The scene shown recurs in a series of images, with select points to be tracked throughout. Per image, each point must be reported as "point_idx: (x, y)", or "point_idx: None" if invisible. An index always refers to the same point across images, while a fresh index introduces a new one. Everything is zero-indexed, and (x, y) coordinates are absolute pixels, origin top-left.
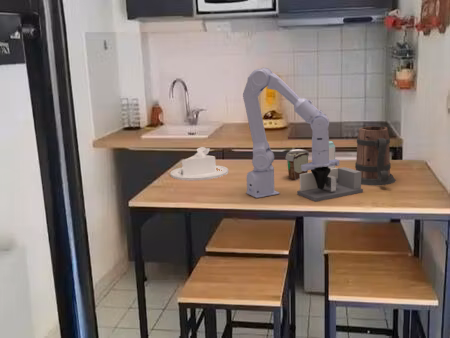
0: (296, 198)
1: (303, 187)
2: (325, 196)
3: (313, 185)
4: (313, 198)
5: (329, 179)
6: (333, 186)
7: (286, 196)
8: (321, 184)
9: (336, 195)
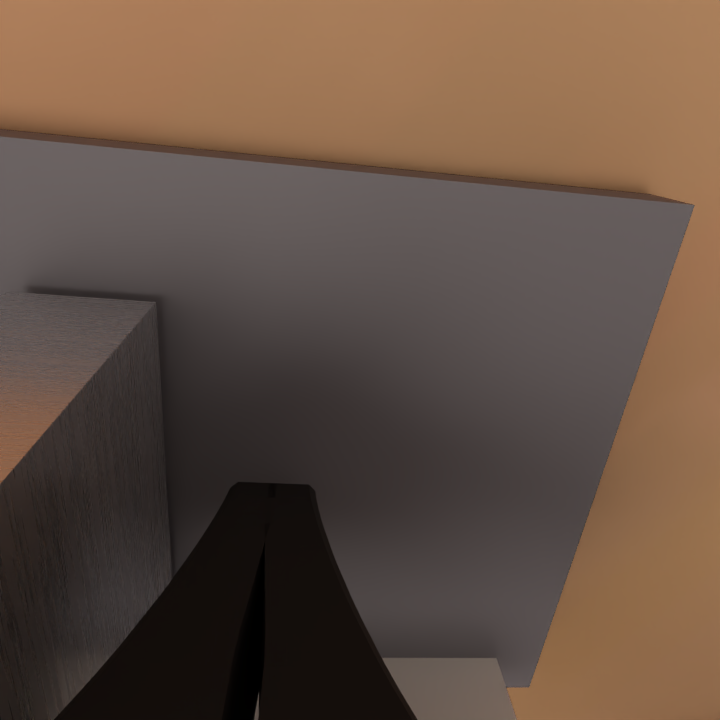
0: (677, 515)
1: (466, 710)
2: (430, 179)
3: (255, 715)
4: (656, 272)
5: (17, 577)
6: (18, 345)
7: (677, 638)
8: (321, 548)
9: (112, 141)
